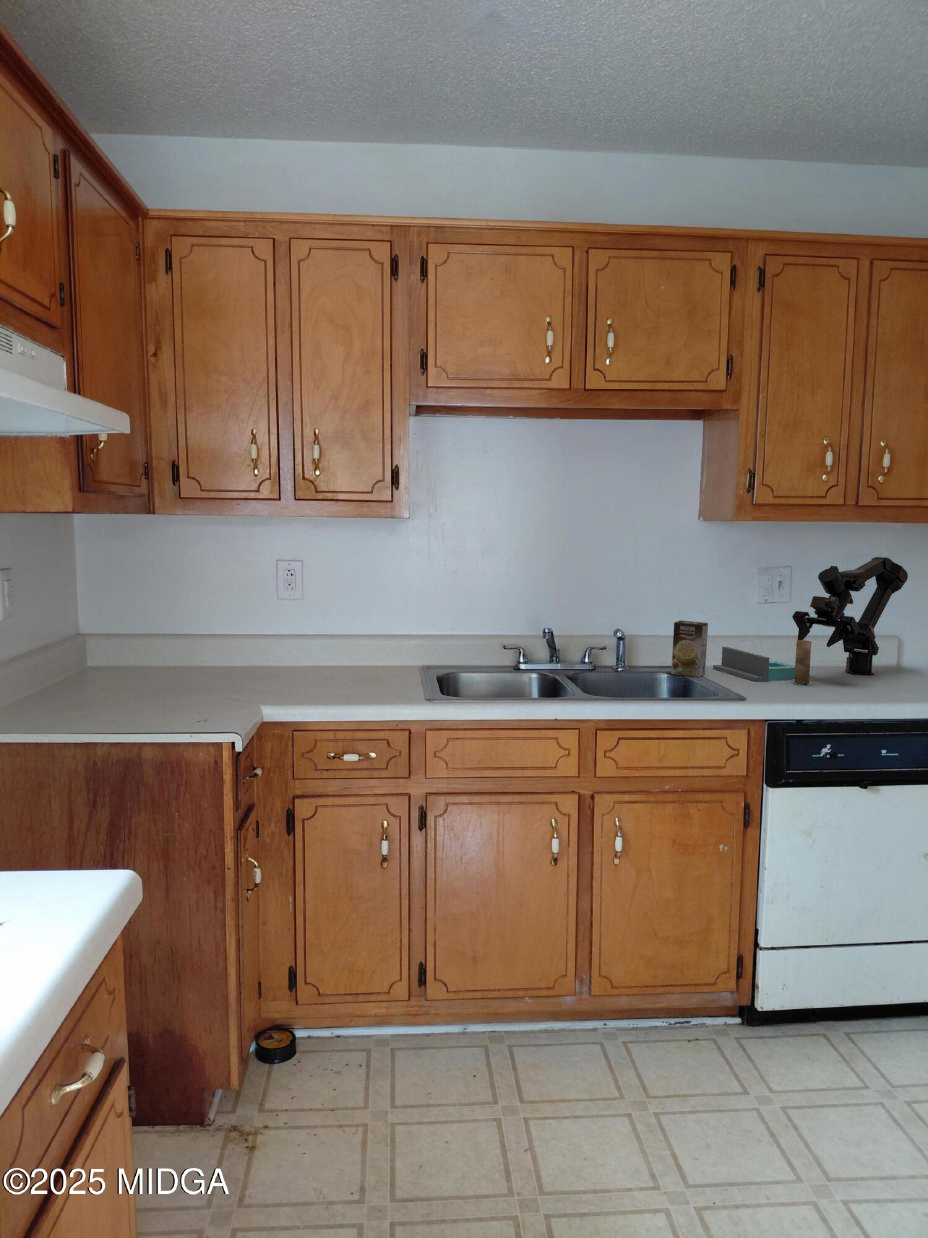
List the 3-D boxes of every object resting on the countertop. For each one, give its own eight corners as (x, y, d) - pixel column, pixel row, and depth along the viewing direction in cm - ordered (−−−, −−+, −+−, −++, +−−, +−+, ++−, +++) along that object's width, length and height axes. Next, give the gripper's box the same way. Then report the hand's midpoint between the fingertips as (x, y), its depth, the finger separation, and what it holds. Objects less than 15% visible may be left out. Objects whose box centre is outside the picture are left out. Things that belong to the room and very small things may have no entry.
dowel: (805, 682, 254) (808, 640, 252) (810, 685, 250) (813, 642, 248) (792, 682, 254) (794, 640, 253) (796, 684, 250) (799, 642, 249)
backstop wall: (725, 668, 276) (726, 646, 275) (768, 681, 255) (769, 657, 254) (713, 668, 275) (714, 647, 274) (754, 681, 254) (755, 658, 253)
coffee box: (670, 674, 264) (672, 622, 263) (677, 671, 270) (679, 620, 268) (700, 677, 260) (702, 624, 258) (706, 674, 265) (708, 622, 263)
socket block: (776, 674, 269) (777, 661, 269) (799, 680, 259) (800, 667, 258) (745, 675, 266) (746, 662, 266) (767, 682, 256) (768, 668, 255)
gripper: (797, 584, 262) (774, 622, 257) (857, 588, 247) (833, 629, 242) (810, 609, 268) (787, 646, 262) (869, 614, 253) (846, 655, 248)
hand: (812, 644), depth 253 cm, fingers open, 9 cm apart
